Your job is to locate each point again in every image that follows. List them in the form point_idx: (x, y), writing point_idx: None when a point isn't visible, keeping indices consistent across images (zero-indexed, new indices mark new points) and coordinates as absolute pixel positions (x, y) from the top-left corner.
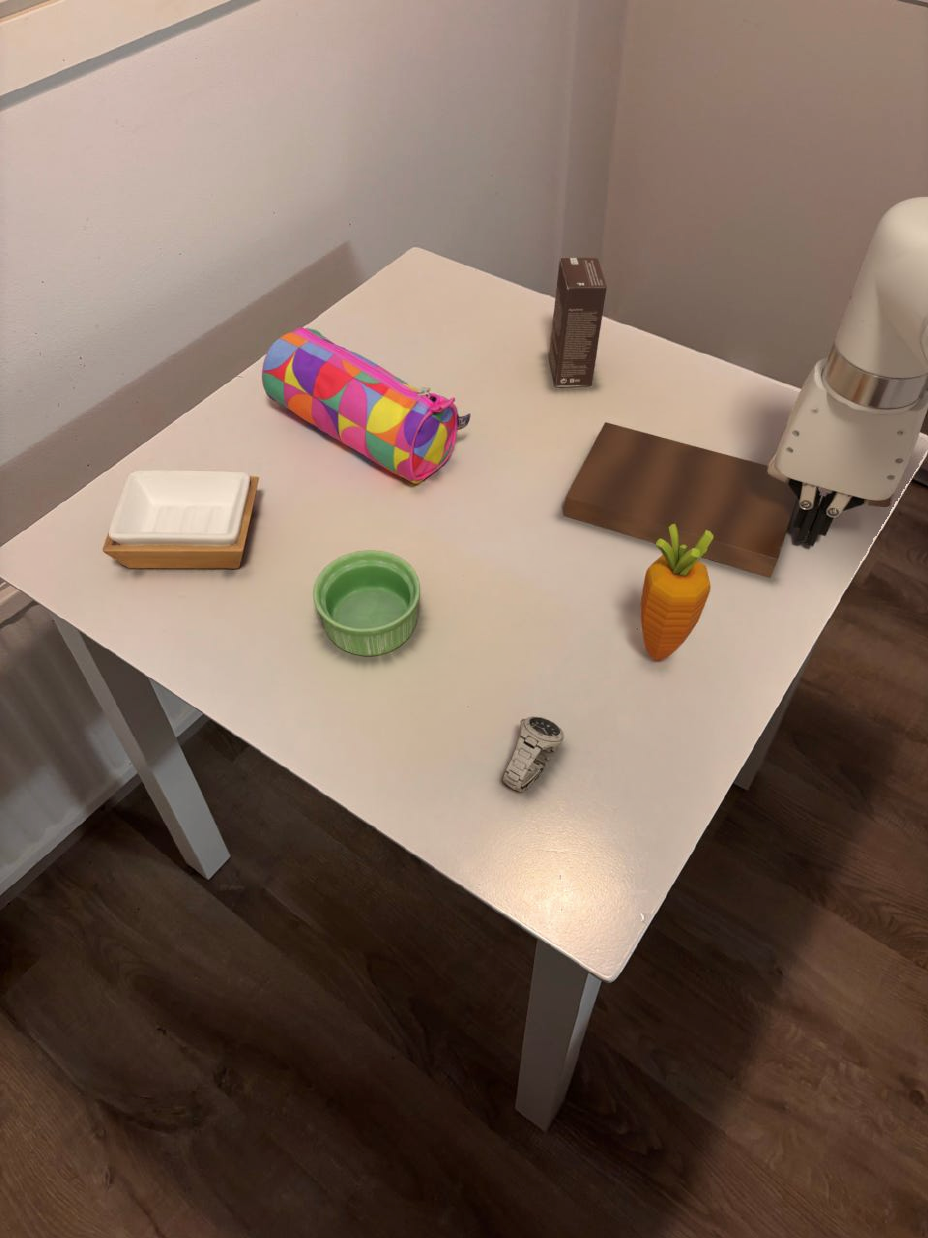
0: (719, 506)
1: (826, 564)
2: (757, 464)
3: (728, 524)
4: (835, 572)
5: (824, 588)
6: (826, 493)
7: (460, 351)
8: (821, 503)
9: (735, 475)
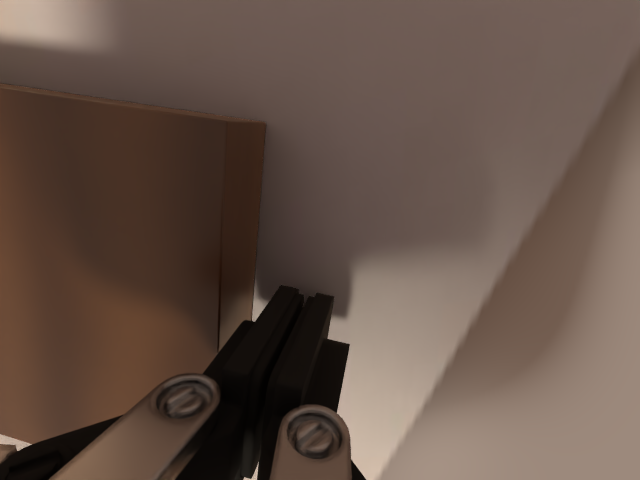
0: (27, 342)
1: (368, 390)
2: (52, 105)
3: (70, 403)
4: (391, 411)
5: (363, 456)
6: (276, 382)
7: None
8: (263, 433)
9: (10, 196)
